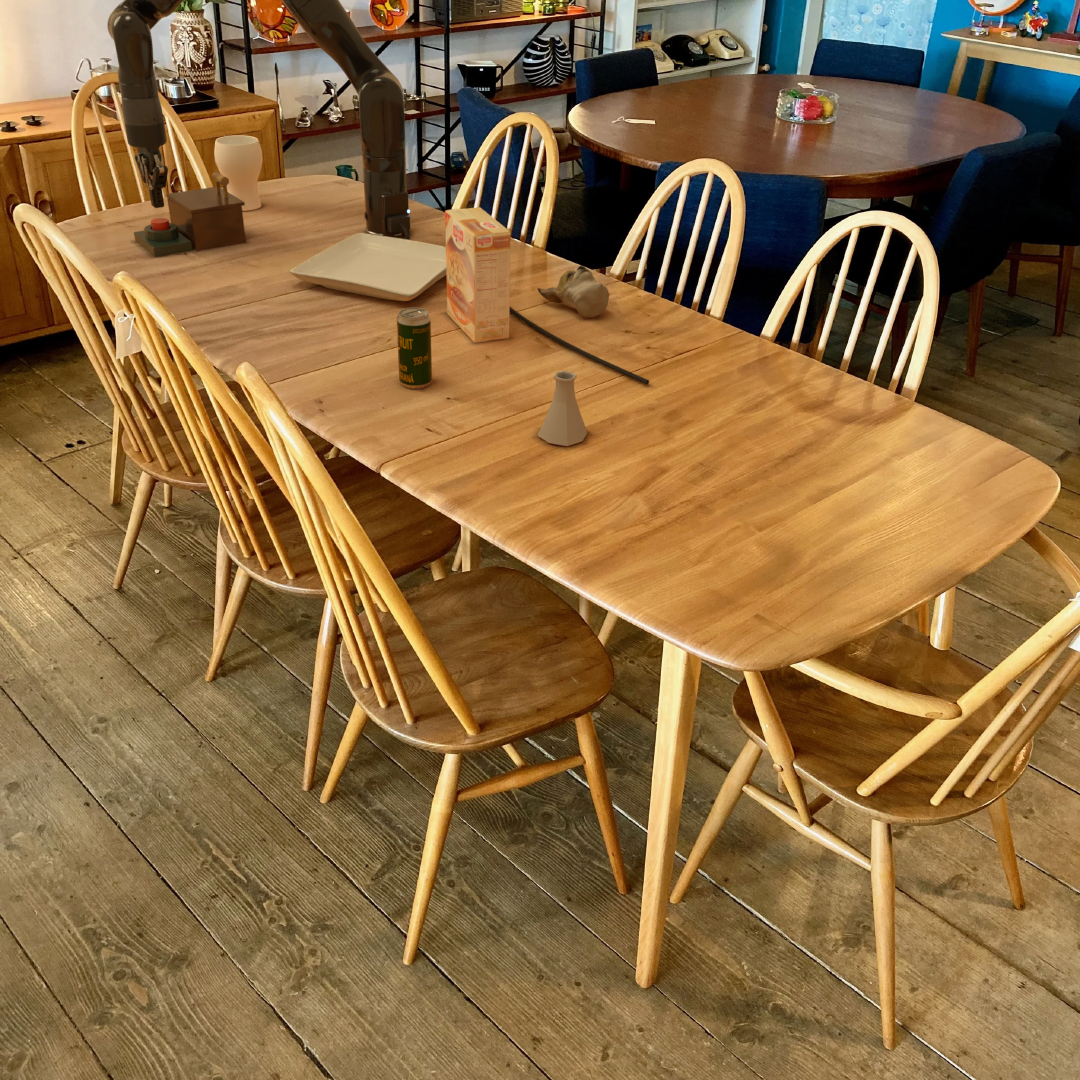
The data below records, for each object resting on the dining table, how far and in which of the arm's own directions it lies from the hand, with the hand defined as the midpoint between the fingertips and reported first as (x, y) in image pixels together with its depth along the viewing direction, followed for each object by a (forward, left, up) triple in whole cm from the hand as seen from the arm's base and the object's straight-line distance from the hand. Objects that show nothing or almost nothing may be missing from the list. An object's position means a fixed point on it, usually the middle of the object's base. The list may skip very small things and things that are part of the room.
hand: (158, 206), depth 230 cm
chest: (0, -10, -8) cm, 13 cm away
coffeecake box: (-72, -32, -9) cm, 79 cm away
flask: (-115, -19, -9) cm, 117 cm away
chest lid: (0, -10, 0) cm, 10 cm away
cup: (+18, -26, -9) cm, 33 cm away
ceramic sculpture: (-75, -53, -9) cm, 92 cm away
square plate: (-41, -30, -9) cm, 51 cm away
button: (0, 0, -5) cm, 5 cm away
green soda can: (-87, -10, -9) cm, 88 cm away
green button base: (0, 0, -8) cm, 8 cm away
